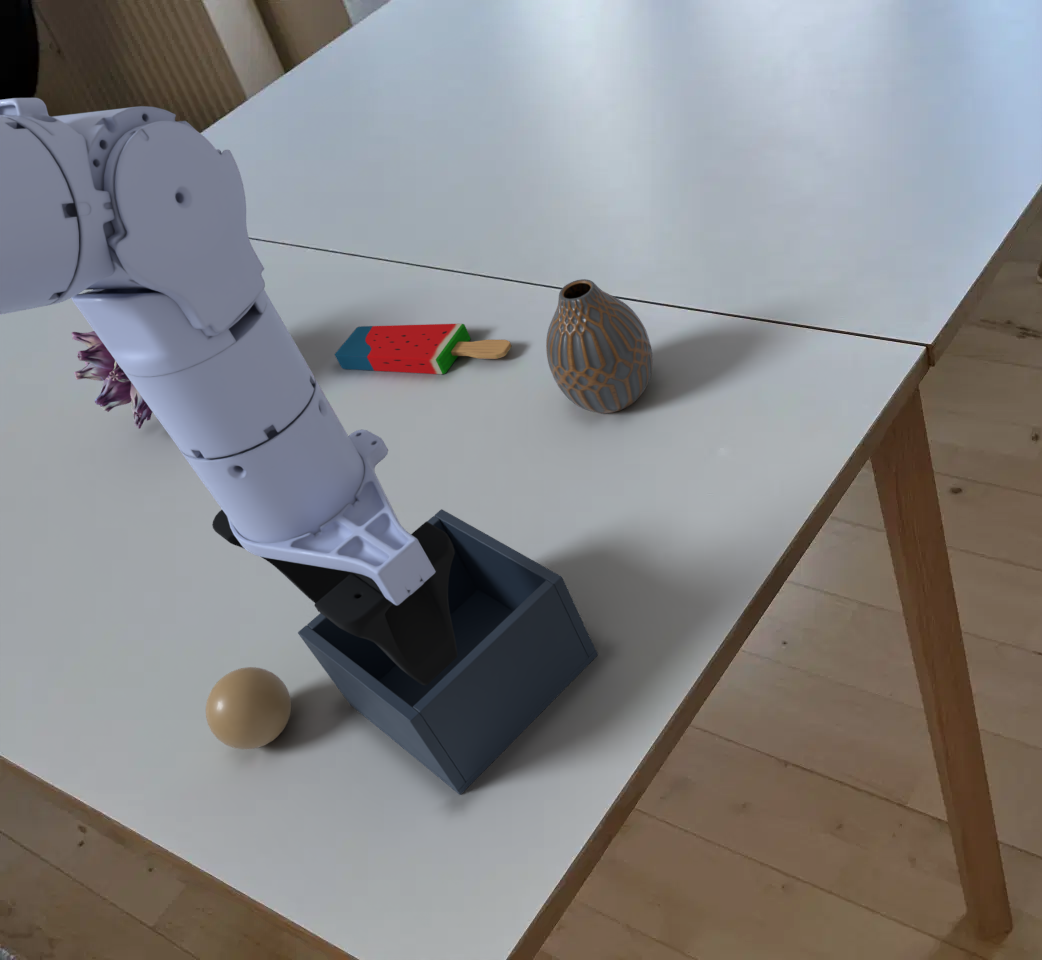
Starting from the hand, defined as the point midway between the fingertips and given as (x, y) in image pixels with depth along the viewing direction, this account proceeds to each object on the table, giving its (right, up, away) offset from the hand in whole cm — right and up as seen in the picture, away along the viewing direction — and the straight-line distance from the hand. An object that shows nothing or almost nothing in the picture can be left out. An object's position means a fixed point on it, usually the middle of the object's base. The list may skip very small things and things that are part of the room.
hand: (389, 632), depth 51 cm
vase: (+10, +13, +25) cm, 30 cm away
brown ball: (-9, -7, +10) cm, 15 cm away
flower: (-25, +13, +39) cm, 47 cm away
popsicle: (-5, +17, +35) cm, 39 cm away
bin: (+2, -4, +9) cm, 10 cm away
